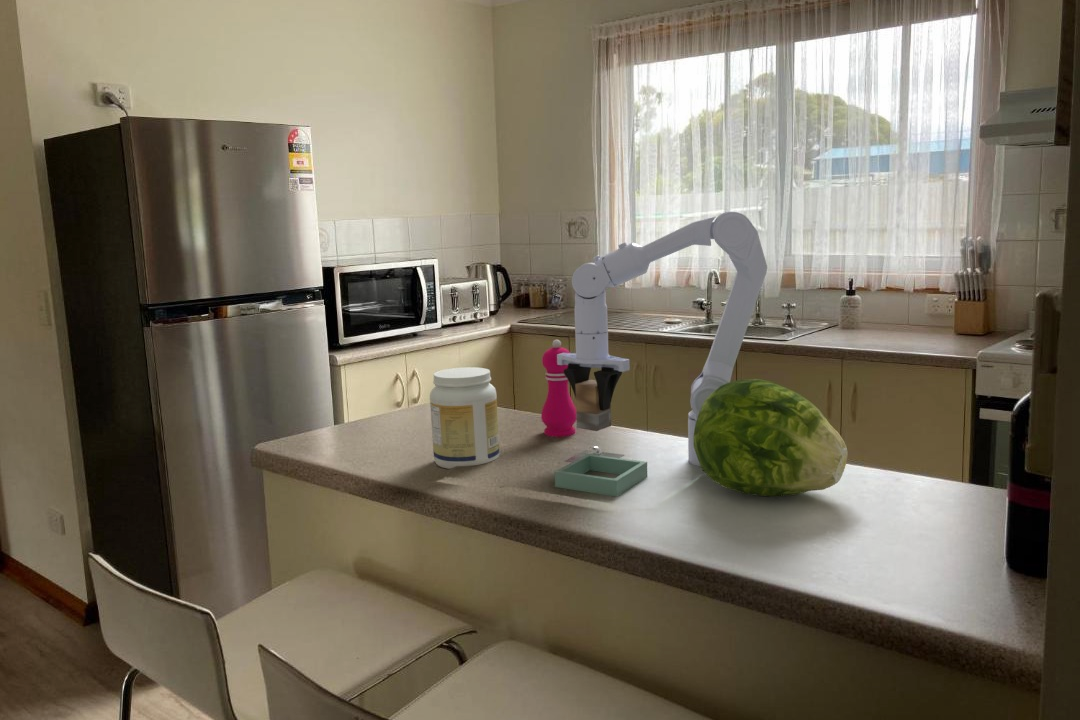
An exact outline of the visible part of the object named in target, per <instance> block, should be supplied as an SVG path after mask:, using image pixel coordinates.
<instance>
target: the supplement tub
mask: <svg viewBox="0 0 1080 720" xmlns="http://www.w3.org/2000/svg"><path fill="white" fill-rule="evenodd" d="M491 381H492V377H491V370H490V369H489V368H483V367H474V366H471V367H468V366H467V367H465V366H464V367H454V368H453V367H452V368H445V369H441V370H438V371H435V372H434V373H433V382H432V383H433V385H434V387H433V388H432V389H431V391H430V394H429V405H430V420H431V436H432V447H433V448H432V450H433V460H434V463H436V465H437V466H438V467H441V468H443V469H446V470H447V469H448V470H452V469H454V468H457V467H468V466H469V467H472V466H478V465H482V464H483V465H484V464H487V463H490V462H493V461H494V460H497V459H498V458H499V456H500V439H499V438H500V437H499V436H500V435H499V434H500V433H499V419H498V418H499V417H498V416H499V415H498V402H497V401H498V400H497V399H498V397H497V390H496V387H495V386H494V385H493V384H491V383H490V382H491Z"/></svg>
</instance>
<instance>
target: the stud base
mask: <svg viewBox="0 0 1080 720" xmlns="http://www.w3.org/2000/svg"><path fill="white" fill-rule="evenodd" d="M587 454H591V455H599V456H606V457H614V458H622V457H624V456H625V454H622V453H621V454H620V453H612V452H608V451H607V452H605V451H602V449H601V448H600V447H599V446H597V445H591V446H590V447H589V448H588V449H585V450H583V451H581V452H579V453H577V454H575V455H573V456H572V457H569V458H568V459H566V460H565V462H566V463H572V462H574V461H576V460H578V459H580V458H581V457H583V456H585V455H587Z"/></svg>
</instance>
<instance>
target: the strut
mask: <svg viewBox="0 0 1080 720" xmlns="http://www.w3.org/2000/svg"><path fill="white" fill-rule="evenodd" d="M575 388H576V398H575V408H576V419H577V420H576V429H581V430H582V429H583V430H588V431H595V432H598V431H600V430H604V429H606V428H607V429H608V428H610V427H612V404H611V405H610V409H607V410H604V411H602V410H600V407H599V393H598V387H597V382H596V379H589V380H587V381H584V382H580V383H577V384H575Z"/></svg>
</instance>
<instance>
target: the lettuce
mask: <svg viewBox="0 0 1080 720" xmlns="http://www.w3.org/2000/svg"><path fill="white" fill-rule="evenodd" d="M693 438H694V449H695V452H696V455H697V458H698V461H699V463H700V466H699V467H700V468H701V470H704V471H703V472H704V473H705V474H706V475H707V476H708V477H709V478H710V479H711V480H713V481H714V482H715V483H717V484H718V485H720V486H722V487H723V488H725V489H728V490H732V491H735V492H739V493H742V494H745V495H752V496H760V497H771V498H772V497H773V498H774V497H775V498H776V497H787V496H789V497H790V496H795V495H800V494H803V493H807V492H814V491H822V490H826V489H829V488H831V487H833V486H835V485H836V484H837V483H839V482H840V481H841V479H842V477H843V473H844V472H845V468H846V466H847V461H848V454H849V453H848V448H847V444H846V443H845V441H844V439H843V438H842V436H841V434H840V433H839V432H838V430H836V429H835V428H834V427H833V425H831V424H830V422H829V420H828V419H827V418H826V417H825V415H824V413H823V412H822V411H821V410H820V409H819V408H818V407H816V405H815V404H813V402H811V401H810V400H809V399H807V398H805V397H804V396H802V395H801V394H800V393H798V392H796V391H793V390H792V389H789V388H788V387H785V386H783V385H781V384H778V383H776V382H774V381H770V380H765V379H761V378H749V379H747V378H745V379H744V378H743V379H738V380H732V381H730V382H729V383H726V384H724V385H722V386H720V387H719V388H718V389H716V390H715V391H714V392H713V393H711V394H710V395H709V397H708V398H707V399H706V400H705V401H704V404H703V406H702V408H701V410H700V412H699V415H698V418H697V421H696V424H695V430H694V436H693Z"/></svg>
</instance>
